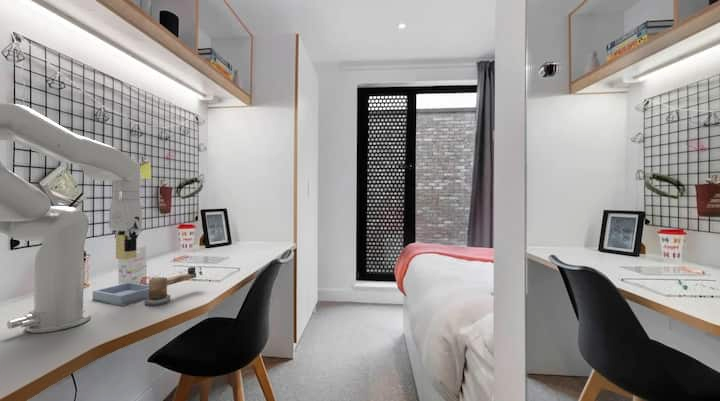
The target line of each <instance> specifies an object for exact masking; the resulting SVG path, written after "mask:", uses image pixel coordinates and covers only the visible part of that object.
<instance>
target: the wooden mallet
mask: <svg viewBox="0 0 720 401" xmlns="http://www.w3.org/2000/svg"><path fill="white" fill-rule="evenodd" d="M195 278H197V272H196V267H195V266H190V267H188V268H187V273H183V274H180V275H176V276H173V277H168V278H167V277H164V276H163V277H160V276H159V277H154V278H150V279H149V280H148V285H149V299H160V298H164V297H166V296H167V294H168V286H170V285H171V286H172V285H173V284H177V283H182V282H184V281H189V280H192V279H195Z"/></svg>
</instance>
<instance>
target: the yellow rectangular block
mask: <svg viewBox="0 0 720 401" xmlns="http://www.w3.org/2000/svg"><path fill="white" fill-rule="evenodd" d="M126 240H128V239H127V233H126V234H119V235H116V238H115V259H117V260H118V259H123V260H125V259H130V258H136V253H137V251H136V250H135V251H129V252H126Z"/></svg>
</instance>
